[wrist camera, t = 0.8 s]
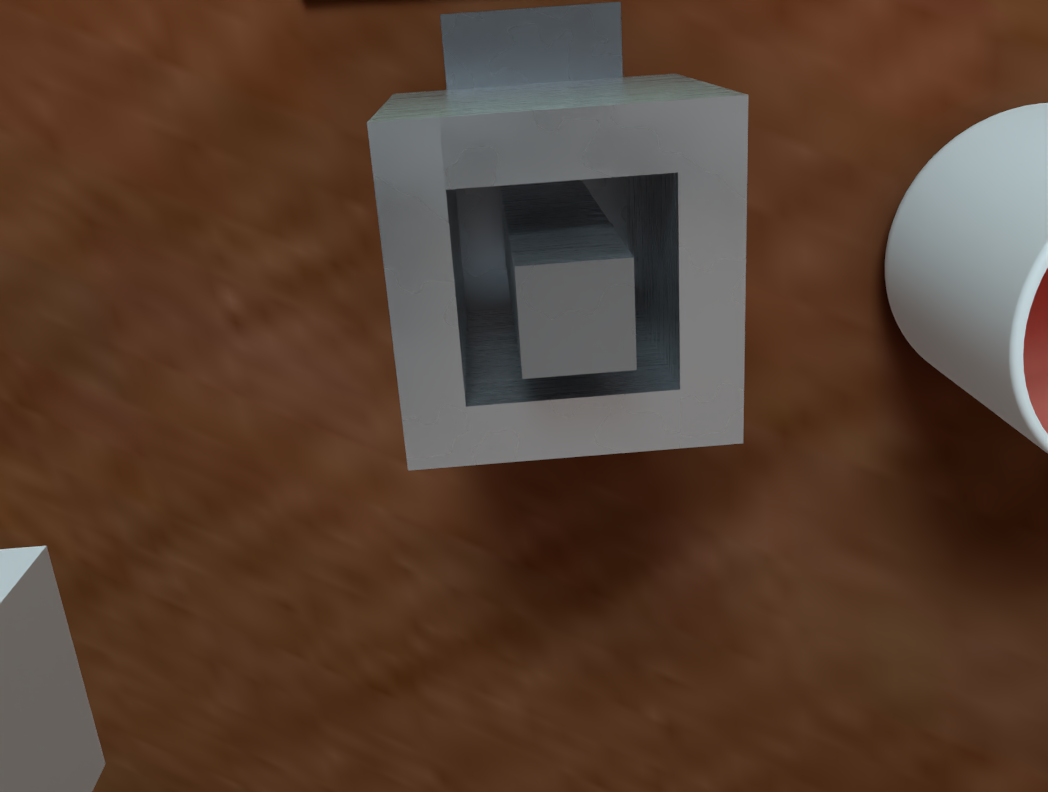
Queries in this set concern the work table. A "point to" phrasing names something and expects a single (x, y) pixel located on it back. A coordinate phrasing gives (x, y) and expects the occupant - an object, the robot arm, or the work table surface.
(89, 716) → the robot arm
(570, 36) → the grey block
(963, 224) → the cup
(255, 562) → the work table surface
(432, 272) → the collar
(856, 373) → the work table surface
